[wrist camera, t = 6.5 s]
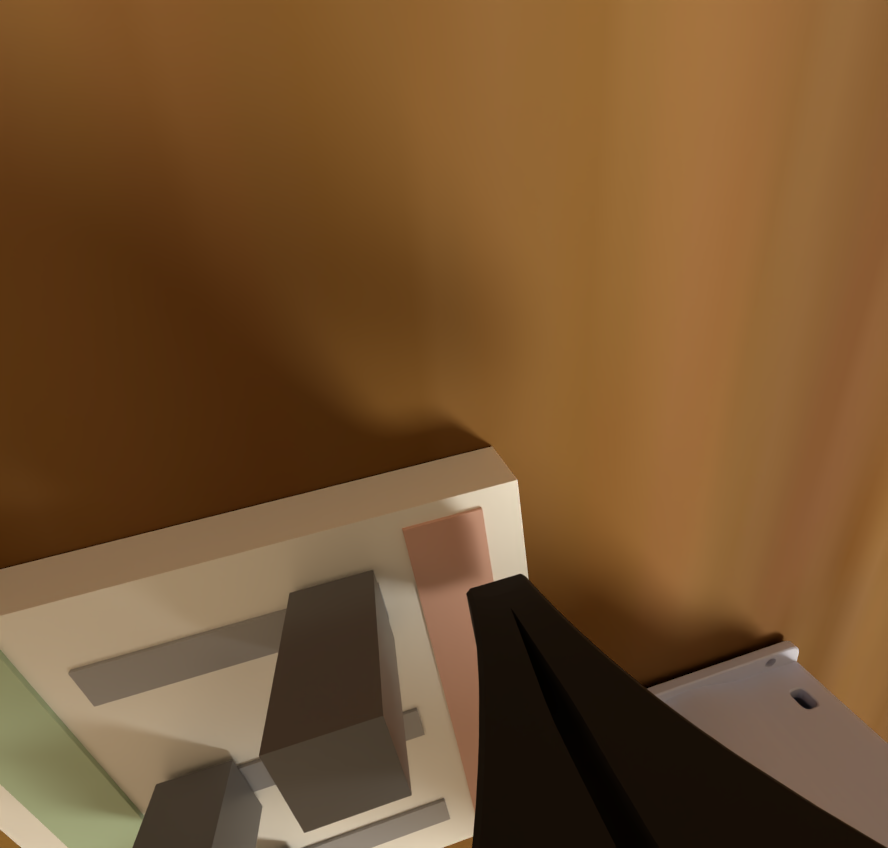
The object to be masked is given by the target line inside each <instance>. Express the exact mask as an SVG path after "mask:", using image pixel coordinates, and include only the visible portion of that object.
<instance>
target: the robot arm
mask: <svg viewBox="0 0 888 848" xmlns="http://www.w3.org/2000/svg"><path fill="white" fill-rule="evenodd" d="M466 595H467V600H468V606H469V611H470V616H471V621H472V626H473V631H474V636H475V642H476V647H477V661H478V678H479V748H478V773H477V790H476V807H475V819H474V831H473V844H472V848H888V743H886V742H885V741H884V740H883V739H882V738H881V737H880V736H879V735H878V734H876V733H875V732H874V731H873V730H872V729H871V728H870V727H869V726H868V725H867V724H865V723H864V722H863V721H862V720H861V719H860V718H859V717H858V716H857V715H855V714H854V713H853V712H852V711H851V710H850V709H849V708H848V707H847V706H845V705H844V704H843V703H842V702H841V701H840V700H839V699H838V698H837V697H835V696H834V695H833V694H832V693H831V692H830V691H829V690H828V689H827V688H825V687H824V686H823V685H822V684H821V683H820V682H819V681H818V680H817V679H816V678H814V677H813V676H812V675H811V674H810V673H809V672H808V671H807V670H806V669H804V668H803V667H802V666H801V665H800V664H799V663H798V662H797V658H798V654H799V649H798V648H797V647H796V646H795V645H794V644H793V643H792V642H791V641H783V642H780V643H777V644H774V645H771V646H768V647H765V648H762V649H760V650H757V651H754V652H751V653H748V654H745V655H742V656H739V657H736V658H733V659H731V660H728V661H725V662H722V663H719V664H716V665H713V666H710V667H707V668H704V669H701V670H699V671H696V672H693V673H690V674H687V675H684V676H681V677H678V678H675V679H672V680H670V681H667V682H664V683H661V684H658V685H655V686H652V687H649V688H645V687H644V686H643V685H641V684H640V683H639V682H638V681H636V680H635V679H634V678H633V677H632V676H630V675H629V674H628V673H627V672H626V671H624V670H623V669H622V668H621V667H619V666H618V665H617V664H616V663H615V662H614V661H612V660H611V659H610V658H609V657H608V656H607V655H605V654H604V653H603V652H602V651H601V650H600V649H599V648H598V647H596V646H595V645H594V644H593V643H592V642H591V641H590V640H589V639H588V638H587V637H585V636H584V635H583V634H582V633H581V632H580V631H579V630H578V629H577V628H576V627H574V626H573V625H572V624H571V623H570V622H569V621H568V620H567V619H566V618H565V617H564V616H563V615H562V614H561V613H560V612H559V611H558V610H557V609H556V608H555V607H554V606H553V605H552V604H551V603H550V602H549V601H548V600H547V599H546V598H545V597H544V596H543V595H542V594H541V593H540V592H539V591H538V589H537V588H536V587H535V586H534V585H533V584H532V583H531V582H530V581H529V579H528V578H527V577H526V576H524V575H523V574H517V575H514V576H511V577H507V578H504V579H500V580H497V581H494V582H490V583H487V584H484V585H480V586H477V587H473V588H470V589H469V591H468V592H467V593H466Z"/></svg>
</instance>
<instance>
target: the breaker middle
mask: <svg viewBox="0 0 888 848" xmlns="http://www.w3.org/2000/svg"><path fill="white" fill-rule="evenodd" d="M261 812H262V805H261V803H260V801H259V800H258V798H257V797H256V795H255V794H254V792H253V790H252V789H251V787H250V786H249V784H248V783H247V781H246V780H245V778H244V776H243V775H242V773H241V772H240V770H239V769H238V767H237V765H236V764H235V762H234V761H233V760H230V761H227V762H224V763H220V764H217V765H214V766H211V767H208V768H205V769H202V770H199V771H196V772H193V773H189V774H186V775H183V776H180V777H177V778H174V779H171V780H168V781H165V782H162V783H159V784H156V786H155V789H154V791H153V794H152V797H151V799H150V802H149V805H148V807H147V810H146V813H145V815H144V818H143V821H142V823H141V826H140V829H139V831H138V834H137V837H136V839H135V842H134V845H133V847H132V848H256V843H257V837H258V831H259V825H260V819H261Z"/></svg>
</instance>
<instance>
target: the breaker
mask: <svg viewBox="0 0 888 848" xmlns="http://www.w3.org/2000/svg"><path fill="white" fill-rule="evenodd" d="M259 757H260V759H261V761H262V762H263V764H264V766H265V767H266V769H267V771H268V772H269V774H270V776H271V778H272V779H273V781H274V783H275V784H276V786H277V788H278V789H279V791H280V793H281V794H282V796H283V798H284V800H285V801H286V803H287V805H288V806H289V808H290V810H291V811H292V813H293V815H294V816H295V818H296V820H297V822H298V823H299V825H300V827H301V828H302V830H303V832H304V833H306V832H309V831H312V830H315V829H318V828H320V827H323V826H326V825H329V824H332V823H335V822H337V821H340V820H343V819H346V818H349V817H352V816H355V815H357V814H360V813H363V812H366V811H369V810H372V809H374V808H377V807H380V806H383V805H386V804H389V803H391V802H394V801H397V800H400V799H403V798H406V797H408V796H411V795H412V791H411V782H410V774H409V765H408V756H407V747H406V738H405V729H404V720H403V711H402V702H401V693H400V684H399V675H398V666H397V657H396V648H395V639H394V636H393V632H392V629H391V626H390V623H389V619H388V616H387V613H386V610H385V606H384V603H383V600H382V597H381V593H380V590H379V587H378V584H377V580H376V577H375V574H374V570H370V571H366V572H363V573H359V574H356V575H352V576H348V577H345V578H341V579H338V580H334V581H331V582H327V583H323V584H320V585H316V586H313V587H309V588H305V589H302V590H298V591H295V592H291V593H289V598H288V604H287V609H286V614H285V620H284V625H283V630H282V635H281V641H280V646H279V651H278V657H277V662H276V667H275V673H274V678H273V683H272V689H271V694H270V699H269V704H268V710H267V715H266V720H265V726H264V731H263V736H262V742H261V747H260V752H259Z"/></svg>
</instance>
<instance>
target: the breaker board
mask: <svg viewBox="0 0 888 848" xmlns="http://www.w3.org/2000/svg"><path fill="white" fill-rule="evenodd" d="M370 570H374V574H375V577H376V580H377V584H378V587H379V590H380V593H381V597H382V600H383V603H384V606H385V610H386V613H387V616H388V619H389V623H390V626H391V629H392V632H393V636H394V639H395V648H396V657H397V666H398V675H399V684H400V693H401V702H402V711H403V720H404V729H405V738H406V747H407V756H408V765H409V774H410V782H411V791H412V795H411V796H408V797H406V798H403V799H400V800H397V801H394V802H391V803H389V804H386V805H383V806H380V807H377V808H374V809H372V810H369V811H366V812H363V813H360V814H357V815H355V816H352V817H349V818H346V819H343V820H340V821H337V822H335V823H332V824H329V825H326V826H323V827H320V828H318V829H315V830H312V831H309V832H306V833H304V832H303V830H302V828H301V827H300V825H299V823H298V822H297V820H296V818H295V816H294V815H293V813H292V811H291V810H290V808H289V806H288V805H287V803H286V801H285V800H284V798H283V796H282V794H281V793H280V791H279V789H278V788H277V786H276V784H275V783H274V781H273V779H272V778H271V776H270V774H269V772H268V771H267V769H266V767H265V766H264V764H263V762H262V761H261V759H260V757H259V752H260V747H261V742H262V736H263V731H264V726H265V720H266V715H267V710H268V704H269V699H270V694H271V689H272V683H273V678H274V673H275V667H276V662H277V657H278V651H279V646H280V641H281V635H282V630H283V625H284V620H285V614H286V609H287V604H288V598H289V593H291V592H295V591H298V590H302V589H305V588H309V587H313V586H316V585H320V584H323V583H327V582H331V581H334V580H338V579H341V578H345V577H348V576H352V575H356V574H359V573H363V572H366V571H370ZM517 574H523V575H524V576H526V577H527V578H528V570H527V561H526V552H525V543H524V534H523V525H522V516H521V507H520V498H519V489H518V480H517V479H516V477H515V476H514V475H513V473H512V472H511V471H510V469H509V468H508V467H507V465H506V464H505V463H504V461H503V460H502V459H501V457H500V456H499V455H498V453H497V452H496V451H495V449H494V448H493V447H492V446H491V447H487V448H483V449H479V450H475V451H471V452H467V453H463V454H459V455H455V456H451V457H447V458H443V459H439V460H435V461H431V462H427V463H423V464H419V465H415V466H411V467H407V468H403V469H399V470H395V471H391V472H387V473H383V474H379V475H375V476H371V477H367V478H363V479H359V480H355V481H351V482H347V483H343V484H339V485H335V486H331V487H327V488H323V489H319V490H316V491H312V492H308V493H304V494H300V495H296V496H292V497H288V498H284V499H280V500H276V501H272V502H268V503H264V504H260V505H256V506H252V507H248V508H244V509H240V510H236V511H232V512H228V513H224V514H220V515H216V516H212V517H208V518H204V519H200V520H196V521H192V522H188V523H184V524H180V525H176V526H172V527H168V528H164V529H160V530H156V531H152V532H148V533H144V534H140V535H136V536H132V537H128V538H124V539H120V540H116V541H112V542H108V543H104V544H100V545H96V546H92V547H88V548H84V549H80V550H76V551H72V552H68V553H64V554H60V555H56V556H52V557H48V558H44V559H40V560H36V561H32V562H28V563H24V564H20V565H16V566H12V567H8V568H4V569H0V830H2V831H3V832H4V833H5V834H6V835H7V836H9V837H10V838H11V839H12V840H13V841H14V842H16V843H17V844H18V845H19V846H20V847H21V848H132V847H133V845H134V842H135V839H136V837H137V834H138V831H139V829H140V826H141V823H142V821H143V818H144V815H145V813H146V810H147V807H148V805H149V802H150V799H151V797H152V794H153V791H154V789H155V786H156V784H159V783H162V782H165V781H168V780H171V779H174V778H177V777H180V776H183V775H186V774H189V773H193V772H196V771H199V770H202V769H205V768H208V767H211V766H214V765H217V764H220V763H224V762H227V761H230V760H233V761H234V762H235V764H236V765H237V767H238V769H239V770H240V772H241V773H242V775H243V776H244V778H245V780H246V781H247V783H248V784H249V786H250V787H251V789H252V790H253V792H254V794H255V795H256V797H257V798H258V800H259V801H260V803H261V805H262V812H261V819H260V825H259V831H258V837H257V843H256V848H443V847H446V846H448V845H451V844H454V843H456V842H459V841H462V840H464V839H467V838H470V837H473V831H474V819H475V807H476V790H477V773H478V748H479V678H478V661H477V647H476V642H475V636H474V631H473V626H472V621H471V616H470V611H469V606H468V600H467V595H466V593H467V592H468V591H469V589H470V588H473V587H477V586H480V585H484V584H487V583H490V582H494V581H497V580H500V579H504V578H507V577H511V576H514V575H517Z"/></svg>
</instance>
